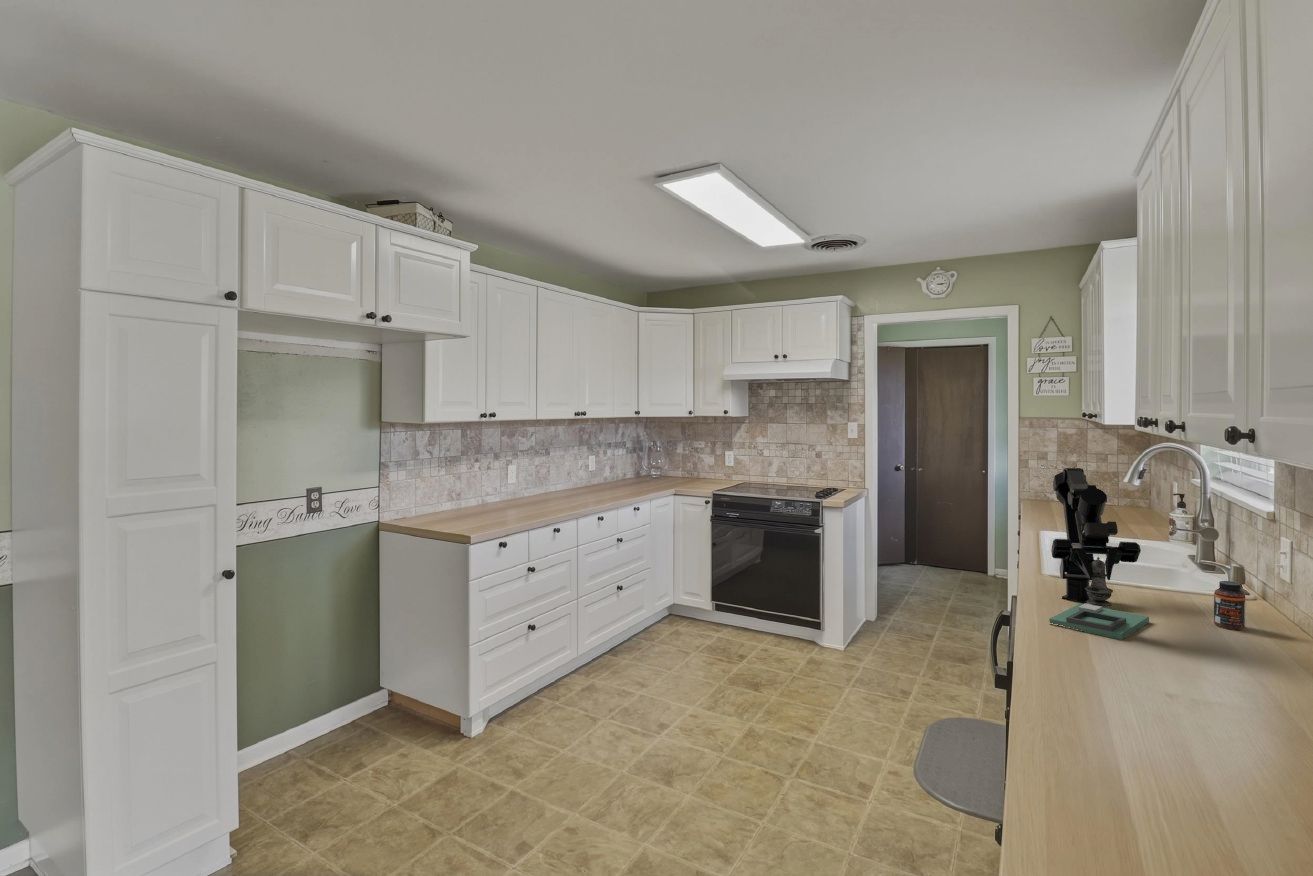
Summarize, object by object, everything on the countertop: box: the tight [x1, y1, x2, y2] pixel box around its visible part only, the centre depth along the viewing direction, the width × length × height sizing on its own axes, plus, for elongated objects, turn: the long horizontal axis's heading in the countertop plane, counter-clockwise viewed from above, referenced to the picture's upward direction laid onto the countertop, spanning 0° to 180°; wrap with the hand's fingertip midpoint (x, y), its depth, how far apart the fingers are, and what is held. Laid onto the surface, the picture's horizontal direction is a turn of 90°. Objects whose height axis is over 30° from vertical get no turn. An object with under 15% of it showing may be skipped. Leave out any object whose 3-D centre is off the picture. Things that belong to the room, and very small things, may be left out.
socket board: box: [1048, 603, 1150, 641], centre depth 168 cm, size 20×16×3 cm
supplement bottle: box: [1213, 580, 1246, 631], centre depth 162 cm, size 6×6×11 cm
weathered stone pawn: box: [1085, 556, 1114, 608], centre depth 163 cm, size 6×6×12 cm
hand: (1099, 578), depth 162 cm, fingers closed on weathered stone pawn, 4 cm apart
